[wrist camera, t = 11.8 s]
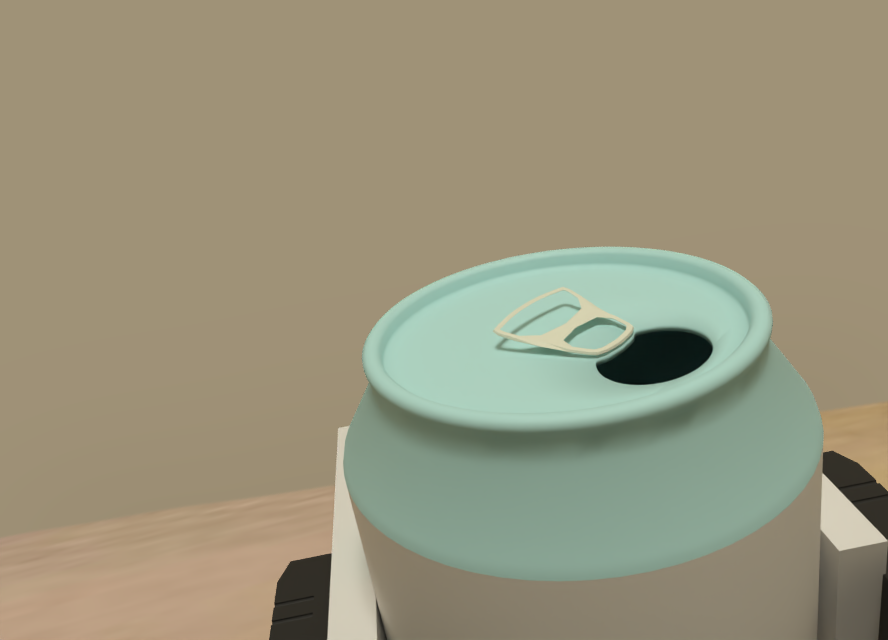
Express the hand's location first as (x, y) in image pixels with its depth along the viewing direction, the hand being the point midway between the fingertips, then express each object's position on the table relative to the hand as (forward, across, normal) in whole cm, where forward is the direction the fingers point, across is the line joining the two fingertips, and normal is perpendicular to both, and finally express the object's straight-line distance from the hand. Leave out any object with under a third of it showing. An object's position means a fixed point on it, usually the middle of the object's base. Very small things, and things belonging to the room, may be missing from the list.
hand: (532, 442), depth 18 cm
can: (-5, 0, -7) cm, 8 cm away
